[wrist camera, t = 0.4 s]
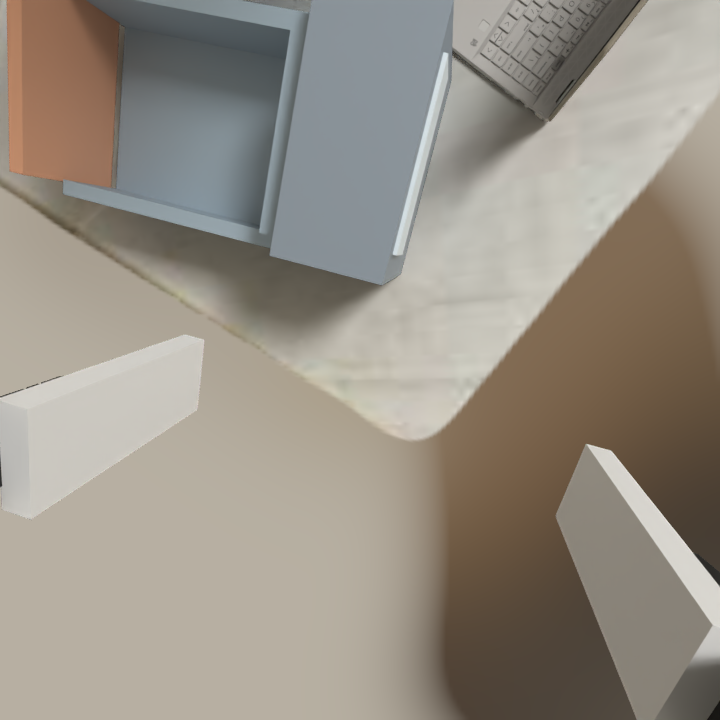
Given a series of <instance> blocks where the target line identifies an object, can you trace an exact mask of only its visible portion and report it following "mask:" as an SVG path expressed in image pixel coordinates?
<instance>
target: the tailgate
mask: <svg viewBox="0 0 720 720" xmlns="http://www.w3.org/2000/svg"><path fill="white" fill-rule="evenodd" d="M118 41H119V23H118V22H117V21H115V20H114V19H113V18H111V17H110V16H108V15H107V14H105V13H104V12H102V11H101V10H99V9H98V8H97V7H95V6H94V5H92V4H91V3H89V2H88V1H86V0H7V44H8V104H9V164H10V171H11V172H15V173H19V174H23V175H28V176H34V177H40V178H46V179H52V180H57V181H63V179H64V180H70V181H75V182H81V183H87V184H92V185H98V186H104V187H109V188H111V177H112V158H113V138H114V119H115V99H116V80H117V60H118Z"/></svg>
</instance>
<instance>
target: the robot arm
mask: <svg viewBox="0 0 720 720" xmlns="http://www.w3.org/2000/svg"><path fill="white" fill-rule="evenodd" d="M203 350H204V339H200V338H196V337H193V336H189V335H182V336H179V337H176V338H173V339H170V340H167V341H164V342H161V343H159V344H155V345H153V346H150V347H147V348H144V349H141V350H138V351H135V352H132V353H130V354H126V355H124V356H120V357H118V358H115V359H112V360H109V361H106V362H103V363H100V364H97V365H94V366H92V367H88V368H85V369H83V370H80V371H77V372H74V373H71V374H68V375H65V376H59V377H56V378H53V379H50V380H48V381H44V382H42V383H41V384H36V385H33V386H30V387H27V388H26V389H21V390H18V391H15V392H12V393H9V394H6V395H3V396H0V487H1V504H2V510H5V511H8V512H10V513H13V514H16V515H19V516H21V517H24V518H27V519H30V520H31V519H33V518H34V517H36V516H37V515H39V514H40V513H42V512H43V511H45V510H46V509H48V508H49V507H51V506H52V505H54V504H56V503H57V502H59V501H60V500H62V499H63V498H65V497H66V496H68V495H69V494H71V493H72V492H74V491H75V490H77V489H78V488H80V487H81V486H82V485H84V484H86V483H87V482H88V481H90V480H92V479H93V478H95V477H96V476H98V475H99V474H101V473H102V472H104V471H105V470H107V469H108V468H110V467H111V466H113V465H114V464H116V463H117V462H119V461H121V460H122V459H124V458H125V457H127V456H128V455H129V454H131V453H133V452H134V451H136V450H137V449H139V448H140V447H142V446H143V445H145V444H146V443H148V442H149V441H151V440H152V439H154V438H155V437H157V436H158V435H160V434H161V433H163V432H164V431H166V430H167V429H169V428H170V427H172V426H173V425H175V424H176V423H178V422H179V421H181V420H182V419H184V418H186V417H187V416H188V415H190V414H191V413H193V412H195V411H196V410H197V409H198V399H199V389H200V380H201V370H202V360H203ZM556 518H557V521H558V523H559V526H560V528H561V531H562V533H563V536H564V538H565V541H566V543H567V546H568V548H569V551H570V553H571V556H572V558H573V561H574V563H575V566H576V568H577V571H578V573H579V576H580V578H581V581H582V583H583V586H584V588H585V591H586V593H587V596H588V598H589V601H590V603H591V606H592V608H593V611H594V613H595V616H596V618H597V621H598V623H599V626H600V628H601V631H602V633H603V636H604V638H605V641H606V643H607V646H608V648H609V651H610V653H611V656H612V658H613V661H614V663H615V666H616V668H617V671H618V673H619V676H620V678H621V680H622V683H623V686H624V688H625V691H626V693H627V696H628V698H629V701H630V703H631V706H632V708H633V711H634V713H635V716H636V718H637V720H720V572H719V571H718V570H716V569H715V568H714V567H713V566H712V565H710V564H709V563H708V562H707V561H706V560H704V559H703V558H702V557H701V556H699V555H698V554H696V553H692V551H691V550H690V549H689V548H688V546H687V545H686V544H685V543H684V541H683V540H682V539H681V537H680V536H679V535H678V534H677V533H676V531H675V530H674V529H673V528H672V526H671V525H670V524H669V522H668V521H667V520H666V519H665V517H664V516H663V515H662V514H661V512H660V511H659V510H658V509H657V507H656V506H655V505H654V504H653V502H652V501H651V500H650V499H649V498H648V496H647V495H646V494H645V492H644V491H643V490H642V489H641V487H640V486H639V485H638V484H637V482H636V481H635V480H634V479H633V477H632V476H631V475H630V474H629V472H628V471H627V470H626V469H625V467H624V466H623V465H622V464H621V463H620V461H619V460H618V459H617V457H616V456H615V455H614V454H613V452H612V451H610V450H607V449H603V448H599V447H596V446H592V445H588V444H586V445H585V448H584V450H583V452H582V455H581V457H580V459H579V462H578V464H577V466H576V469H575V471H574V474H573V476H572V478H571V481H570V483H569V485H568V488H567V490H566V493H565V495H564V497H563V500H562V502H561V505H560V507H559V509H558V511H557V514H556Z"/></svg>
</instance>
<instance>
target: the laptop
mask: <svg viewBox="0 0 720 720" xmlns="http://www.w3.org/2000/svg"><path fill="white" fill-rule="evenodd" d="M647 1H648V0H454V12H453V43H452V50H453V51H454V52H455V53H456V54H458V55H459V56H460V57H461V58H463V59H464V60H465V61H466V62H468V63H469V64H470V65H472V66H473V67H474V68H475V69H477V70H478V71H479V72H480V73H482V74H483V75H484V76H485V77H487V78H488V79H489V80H491V81H492V82H493V83H495V84H496V85H497V86H499V87H500V88H501V89H502V90H504V91H505V92H506V93H508V94H509V95H510V96H512V97H513V98H514V99H516V100H517V99H519V100H520V101H522V102H523V103H524V104H525V105H524V106H525V107H526V108H527V109H528V108H530V109H532V110H533V111H535V112H534V114H535V115H536V116H538V117H539V118H540V119H541V120H543V121H544V122H548V121H551V120H552V119H553V118H554V117H555V116H556V114H557V113H558V112H559V111H560V109H561V108H562V107H564V106H565V104H566V103H567V102H568V100H569V99H570V98H571V97H572V95H573V94H574V93H575V91H576V90H577V89H578V88H579V86H580V85H581V84H582V83H583V82H584V80H585V79H586V78H587V77H588V76H589V74H590V73H591V72H592V71H593V70H594V68H595V67H596V66H597V65H598V64H599V62H600V61H601V60H602V59H603V57H604V56H605V55H606V54H607V53H608V51H609V50H610V49H611V48H612V46H613V45H614V44H615V42H616V41H617V40H618V39H619V37H620V36H621V35H622V33H623V32H624V31H625V30H626V28H627V27H628V26H629V24H630V23H631V22H632V21H633V19H634V18H635V17H636V15H637V14H638V13H639V12H640V10H641V9H642V8H643V6H644V5H645V4H646V3H647ZM571 81H572V83H571V84H570V85H569V83H570V82H571ZM568 85H569V87H568V88H567V86H568ZM566 88H567V89H566ZM565 89H566V90H565ZM564 90H565V92H564V93H563V91H564ZM562 93H563V94H562ZM561 94H562V96H561V97H560V95H561ZM559 97H560V98H559ZM558 98H559V100H558V101H557V102H556V100H557V99H558Z"/></svg>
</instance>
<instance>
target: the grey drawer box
mask: <svg viewBox="0 0 720 720" xmlns="http://www.w3.org/2000/svg"><path fill="white" fill-rule="evenodd" d="M86 1H88V2H89V3H91V4H92V5H94V6H95V7H97V8H98V9H99V10H101V11H102V12H104V13H105V14H107V15H108V16H110V17H111V18H113V19H114V20H115V21H117V22H118V23H120V24H121V25H123V26H124V27H125V36H124V54H123V73H122V91H121V109H120V127H119V146H118V164H117V182H116V189H115V188H109V187H104V186H98V185H92V184H87V183H81V182H75V181H70V180H64V179H63V194H64V195H68V196H72V197H76V198H79V199H83V200H87V201H91V202H95V203H98V204H102V205H106V206H110V207H114V208H118V209H121V210H125V211H129V212H133V213H137V214H141V215H144V216H148V217H152V218H156V219H160V220H164V221H167V222H171V223H175V224H179V225H183V226H186V227H190V228H194V229H198V230H202V231H206V232H209V233H213V234H217V235H221V236H225V237H229V238H232V239H236V240H240V241H244V242H248V243H252V244H255V245H259V246H263V247H267V248H271V249H270V256H273V257H276V258H280V259H284V260H288V261H292V262H295V263H299V264H303V265H307V266H310V267H314V268H318V269H322V270H326V271H329V272H333V273H337V274H341V275H345V276H348V277H352V278H356V279H360V280H364V281H367V282H371V283H375V284H379V285H384V284H385V283H387V282H389V281H390V280H392V279H394V278H395V277H397V276H399V275H400V274H401V271H402V267H403V264H404V260H405V256H406V252H407V248H408V244H409V241H410V237H411V233H412V229H413V225H414V221H415V218H416V214H417V210H418V206H419V202H420V198H421V195H422V191H423V187H424V183H425V179H426V176H427V172H428V168H429V164H430V160H431V156H432V153H433V149H434V145H435V141H436V137H437V133H438V130H439V126H440V122H441V118H442V114H443V110H444V107H445V103H446V99H447V95H448V91H449V88H450V84H451V74H452V43H453V12H454V0H312V2H311V8H310V13H308V12H302V11H297V10H292V9H286V8H281V7H276V6H270V5H265V4H259V3H254V2H249V1H243V0H86Z"/></svg>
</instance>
